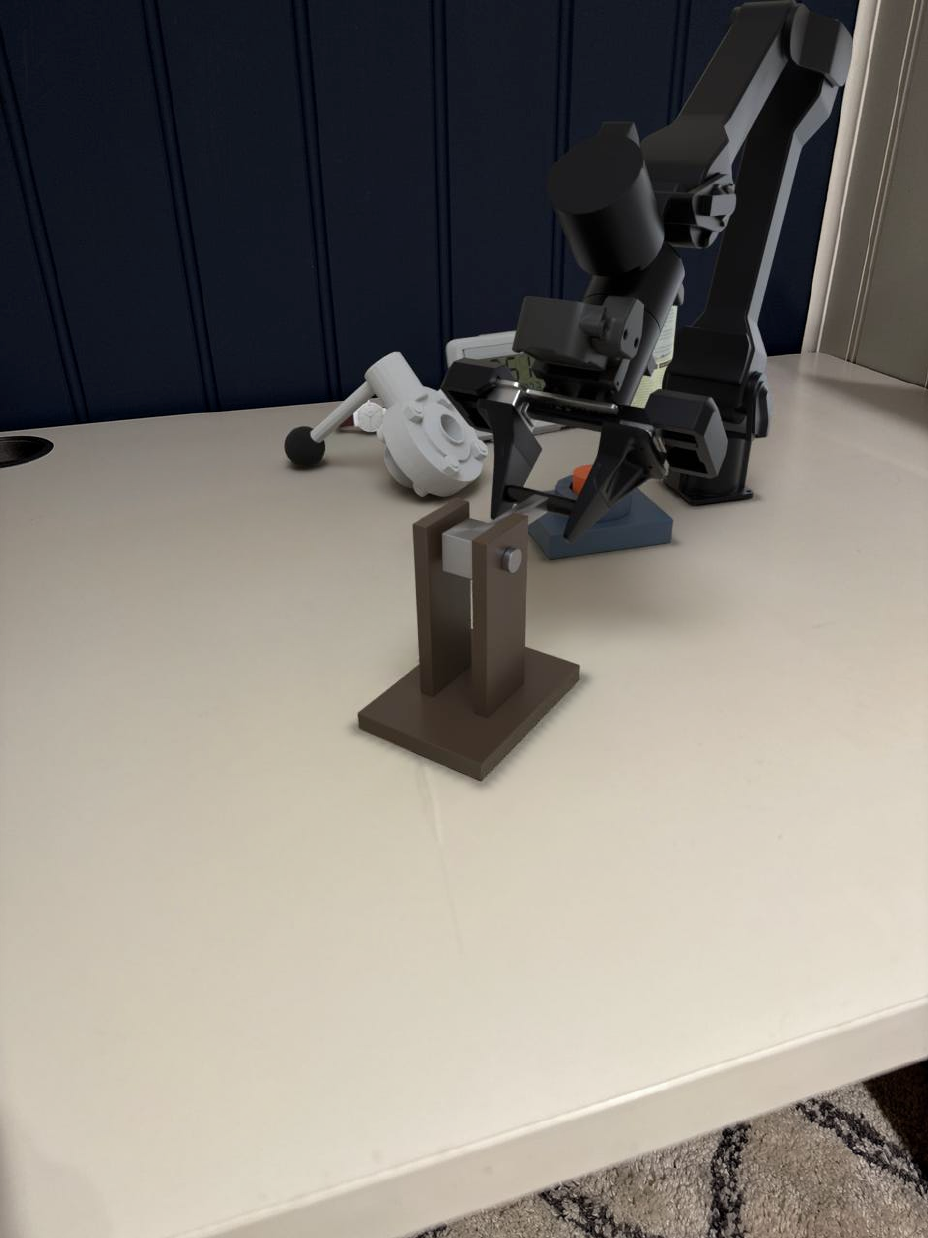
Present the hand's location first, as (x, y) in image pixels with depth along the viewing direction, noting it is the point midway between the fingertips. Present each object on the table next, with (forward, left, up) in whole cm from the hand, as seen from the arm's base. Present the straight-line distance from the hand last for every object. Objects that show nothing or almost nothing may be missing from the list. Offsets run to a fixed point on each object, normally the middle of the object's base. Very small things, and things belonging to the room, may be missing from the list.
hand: (530, 530), depth 57 cm
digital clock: (-14, -44, -10) cm, 48 cm away
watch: (+2, -50, -10) cm, 51 cm away
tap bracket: (+5, +5, -9) cm, 12 cm away
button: (-12, -17, -6) cm, 22 cm away
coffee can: (-29, -48, -10) cm, 57 cm away
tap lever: (+2, +2, 0) cm, 3 cm away
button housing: (-12, -17, -9) cm, 23 cm away
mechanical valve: (+4, -34, -10) cm, 36 cm away
